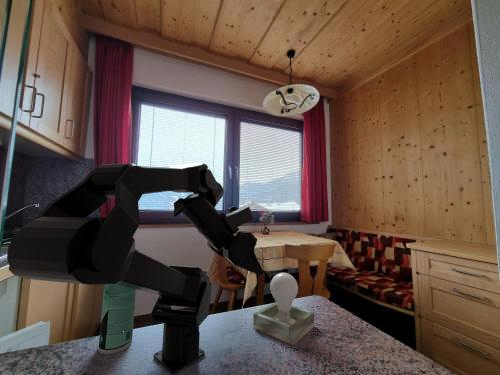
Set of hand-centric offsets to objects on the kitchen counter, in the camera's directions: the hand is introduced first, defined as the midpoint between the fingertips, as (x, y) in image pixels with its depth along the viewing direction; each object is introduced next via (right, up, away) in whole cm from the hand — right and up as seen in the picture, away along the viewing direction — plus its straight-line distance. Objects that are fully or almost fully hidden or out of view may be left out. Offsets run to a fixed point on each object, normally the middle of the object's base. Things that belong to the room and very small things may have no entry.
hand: (252, 268), depth 49 cm
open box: (+7, -13, 0) cm, 15 cm away
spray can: (-26, -12, -8) cm, 30 cm away
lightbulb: (+7, -13, 0) cm, 15 cm away
